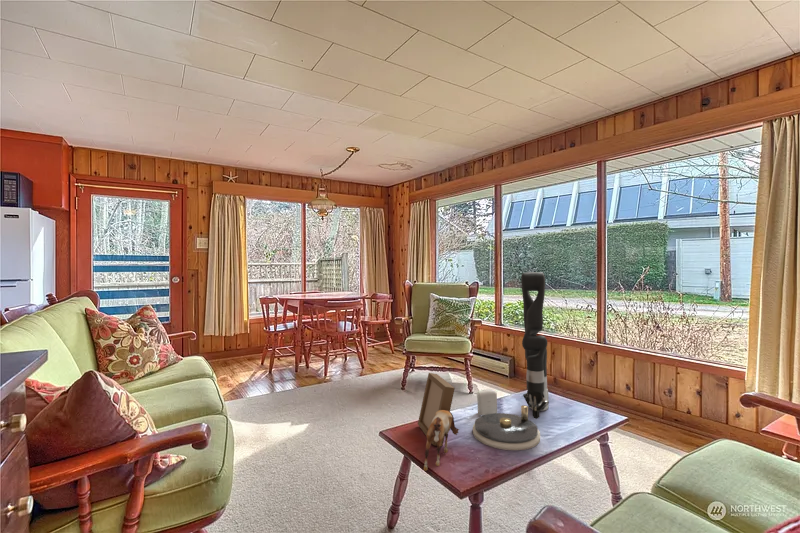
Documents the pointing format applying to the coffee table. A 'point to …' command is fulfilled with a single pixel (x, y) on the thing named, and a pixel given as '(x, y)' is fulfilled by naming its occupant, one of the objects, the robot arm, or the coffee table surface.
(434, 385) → the photo frame
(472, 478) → the coffee table surface
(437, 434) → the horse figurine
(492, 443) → the base plate
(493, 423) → the handwheel
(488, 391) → the photo printer
